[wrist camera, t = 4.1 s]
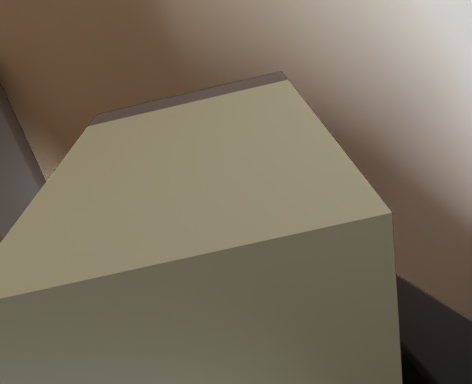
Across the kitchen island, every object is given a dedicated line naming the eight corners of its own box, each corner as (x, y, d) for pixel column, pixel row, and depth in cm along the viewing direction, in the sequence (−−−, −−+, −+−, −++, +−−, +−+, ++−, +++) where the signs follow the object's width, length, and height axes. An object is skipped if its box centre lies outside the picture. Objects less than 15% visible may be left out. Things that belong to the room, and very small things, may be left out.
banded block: (281, 70, 9) (392, 211, 4) (323, 318, 12) (414, 586, 7) (96, 114, 9) (-50, 309, 4) (184, 347, 12) (169, 632, 7)
